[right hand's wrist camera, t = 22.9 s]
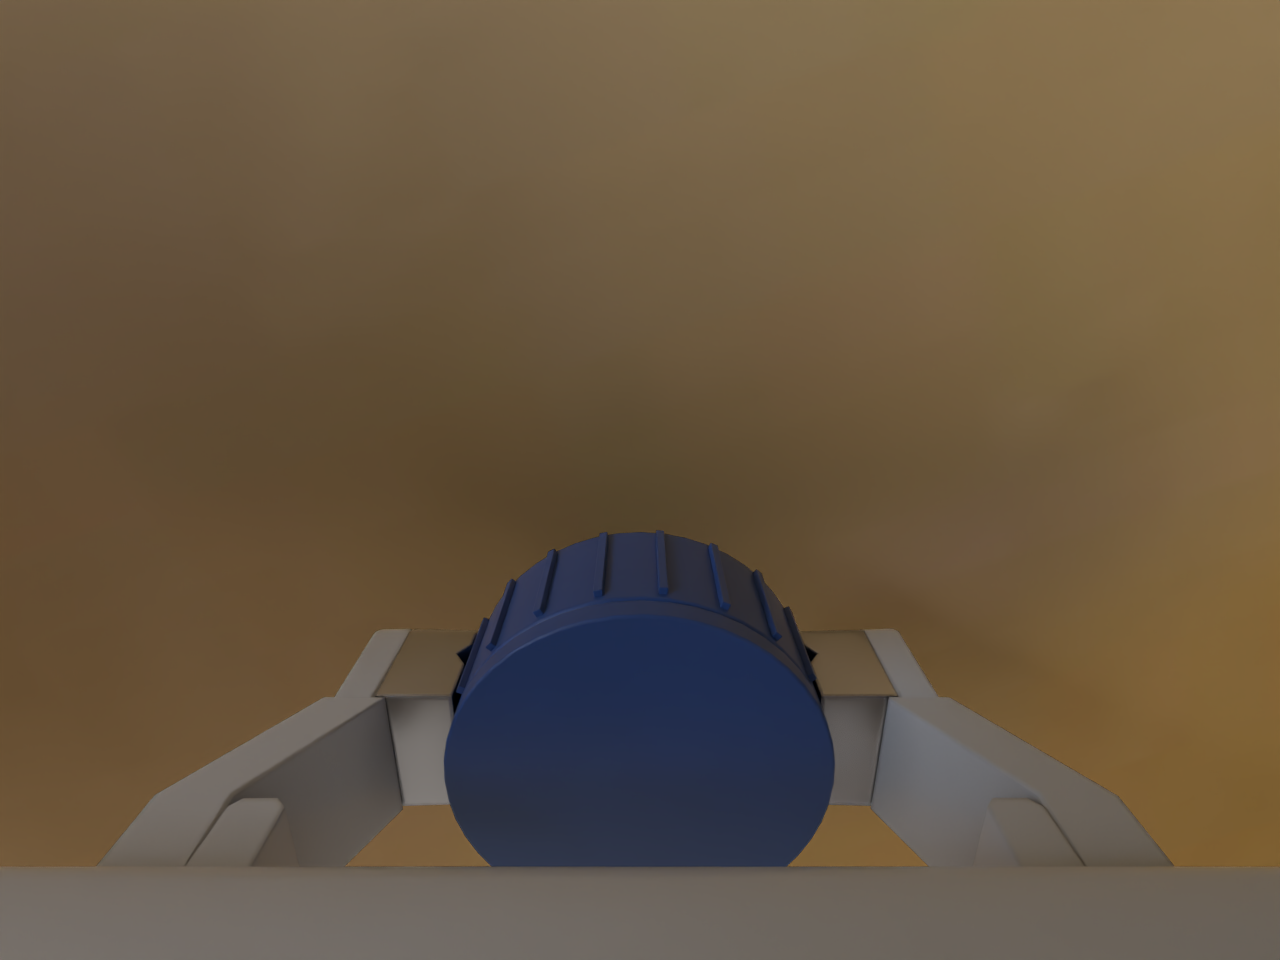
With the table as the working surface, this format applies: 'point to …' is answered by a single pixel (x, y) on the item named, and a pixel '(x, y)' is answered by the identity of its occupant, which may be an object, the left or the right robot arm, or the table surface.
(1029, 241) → the table surface
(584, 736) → the lid
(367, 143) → the table surface
